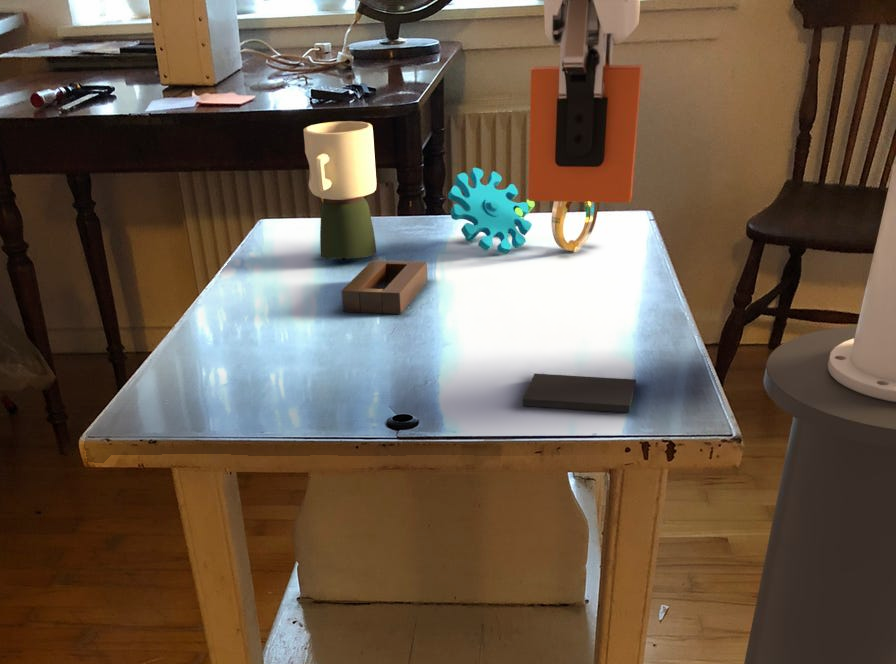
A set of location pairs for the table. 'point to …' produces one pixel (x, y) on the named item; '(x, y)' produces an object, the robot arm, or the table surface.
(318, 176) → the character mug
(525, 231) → the gear
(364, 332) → the table surface
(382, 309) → the frame
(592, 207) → the ring
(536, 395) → the mat
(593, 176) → the orange rectangular board
